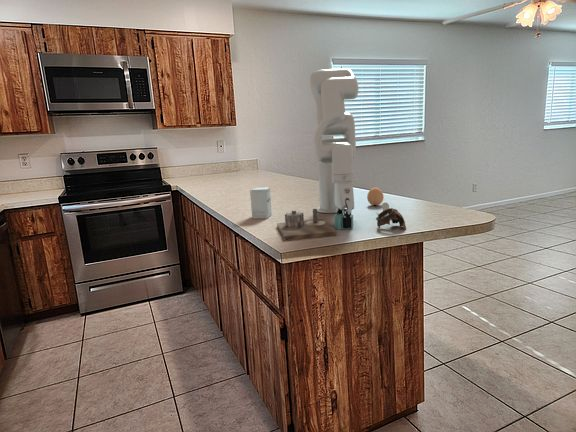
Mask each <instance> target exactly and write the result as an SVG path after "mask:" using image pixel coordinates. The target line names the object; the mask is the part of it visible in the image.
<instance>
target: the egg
mask: <svg viewBox="0 0 576 432" xmlns="http://www.w3.org/2000/svg"><path fill="white" fill-rule="evenodd" d="M366 198H367V202H368V203H369V204H370V205H371V206H374V205H377V206H379V205H382V204H383V201H384V193H383V191H382V190H381V189H380V188H379V187H376V186H375V187H371V189H370V190H369V191H368V193H367V197H366Z"/></svg>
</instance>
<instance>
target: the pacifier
mask: <svg viewBox="0 0 576 432" xmlns="http://www.w3.org/2000/svg"><path fill="white" fill-rule="evenodd" d="M389 208H390V205H389V203H388V202H387V201H386V202H382V203H381V210H382V212H383V211H384V210H386V209H389ZM380 213H381V212H375V214H376V215H377V217H378V215H379V214H380ZM387 215H388V213H387V214H386V215H385V216H383V217H382V218H384V217H386V216H387ZM378 218H379V217H378Z"/></svg>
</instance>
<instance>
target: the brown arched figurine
mask: <svg viewBox="0 0 576 432" xmlns="http://www.w3.org/2000/svg"><path fill="white" fill-rule="evenodd" d="M379 213H380V214H379V215H378V214H377V217H376V218H375V220H376V221H377V222H376V225H377V227H378V228H381V227H382V226H385V225H390V226H391V222H392V224H398V223H399V224H398V225H399V226H400V227H402V229H403V230H404V231H405V230H406V228H407V226H406V221H405V219H404V217H403V215H402V214H401V213H400V212H399V210H398V209H396V208H393V207H391V208H390V207H389V209H386V210H384V211H383V210H382V211H381V212H379ZM387 213H388V215H387V216H386V217H384V218H382V217H383V216H385V215H386V214H387ZM378 217H379V218H378Z"/></svg>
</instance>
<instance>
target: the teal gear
mask: <svg viewBox="0 0 576 432" xmlns="http://www.w3.org/2000/svg"><path fill="white" fill-rule="evenodd" d="M342 218H343V214H338V215H337V214H334V218H333V219H334V228H335V229H337V230H339V231H340V230H350V229H353V228H354V214H351V225H352V227H351V228H343V222H342Z"/></svg>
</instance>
